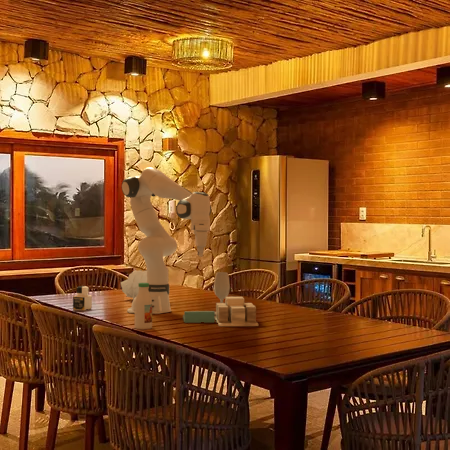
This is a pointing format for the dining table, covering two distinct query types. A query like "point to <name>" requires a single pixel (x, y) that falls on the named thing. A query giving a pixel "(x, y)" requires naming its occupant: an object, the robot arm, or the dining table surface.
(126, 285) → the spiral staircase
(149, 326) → the milk bottle
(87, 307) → the medicine bottle
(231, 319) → the stacked beige blocks
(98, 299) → the dining table surface
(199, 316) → the green flat slab
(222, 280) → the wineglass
